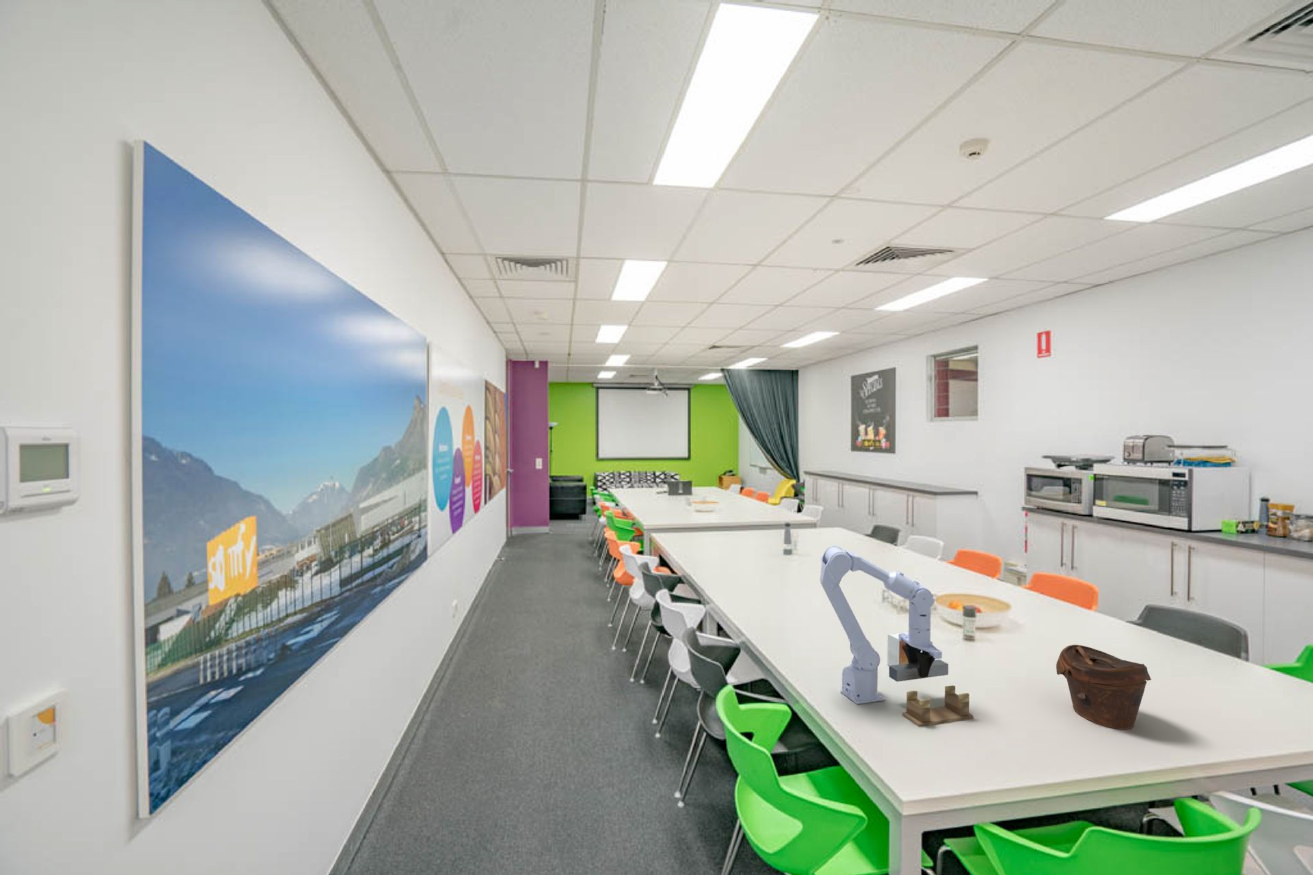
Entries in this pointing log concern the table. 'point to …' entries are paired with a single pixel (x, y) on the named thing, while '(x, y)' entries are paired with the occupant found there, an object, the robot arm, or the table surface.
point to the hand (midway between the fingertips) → (919, 673)
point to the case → (1103, 685)
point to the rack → (937, 708)
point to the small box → (896, 650)
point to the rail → (916, 671)
